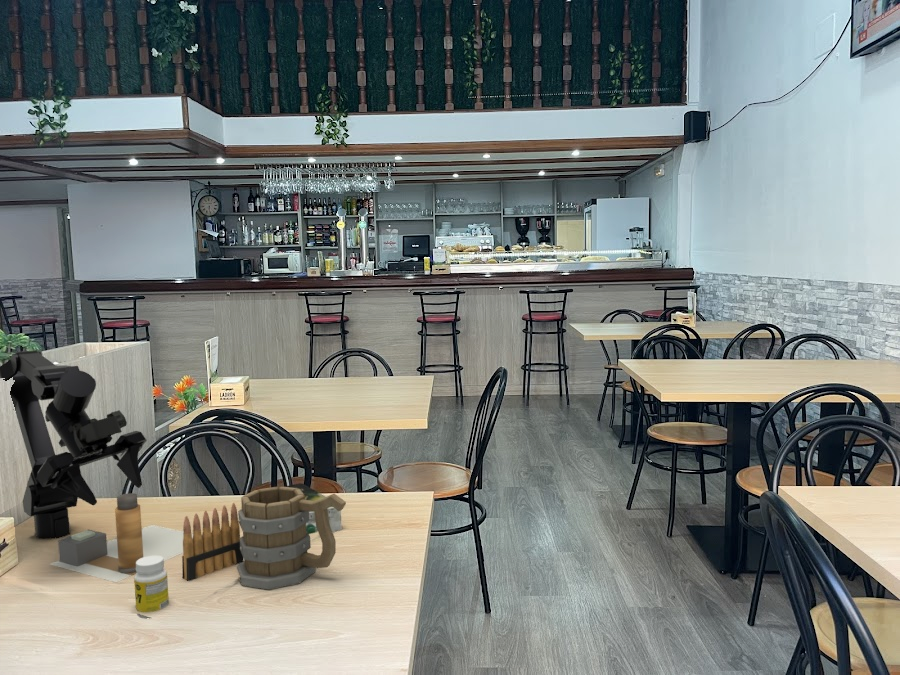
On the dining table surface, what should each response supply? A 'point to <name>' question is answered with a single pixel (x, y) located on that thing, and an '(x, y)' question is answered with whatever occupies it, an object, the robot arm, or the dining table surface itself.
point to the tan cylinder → (128, 532)
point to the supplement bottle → (150, 584)
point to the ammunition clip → (210, 544)
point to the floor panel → (154, 543)
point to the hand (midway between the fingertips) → (118, 494)
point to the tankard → (282, 536)
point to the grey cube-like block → (82, 547)
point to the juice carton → (311, 525)
